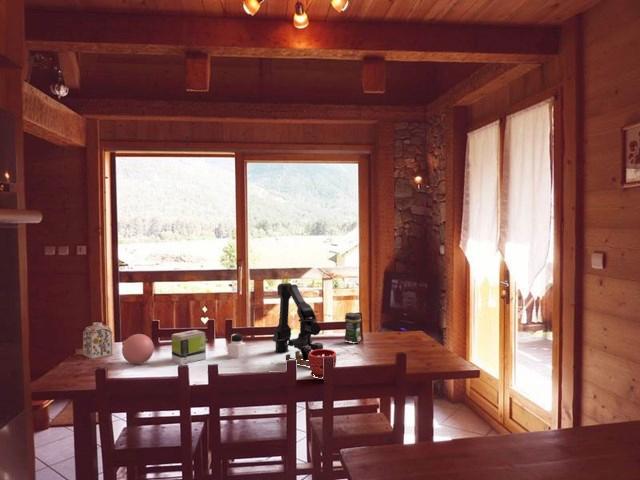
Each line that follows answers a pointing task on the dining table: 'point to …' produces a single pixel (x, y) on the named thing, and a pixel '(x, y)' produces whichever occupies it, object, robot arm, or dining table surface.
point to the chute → (299, 358)
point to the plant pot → (319, 361)
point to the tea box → (188, 346)
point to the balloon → (137, 349)
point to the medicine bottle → (236, 347)
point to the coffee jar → (352, 327)
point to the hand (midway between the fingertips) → (305, 360)
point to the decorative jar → (97, 341)
